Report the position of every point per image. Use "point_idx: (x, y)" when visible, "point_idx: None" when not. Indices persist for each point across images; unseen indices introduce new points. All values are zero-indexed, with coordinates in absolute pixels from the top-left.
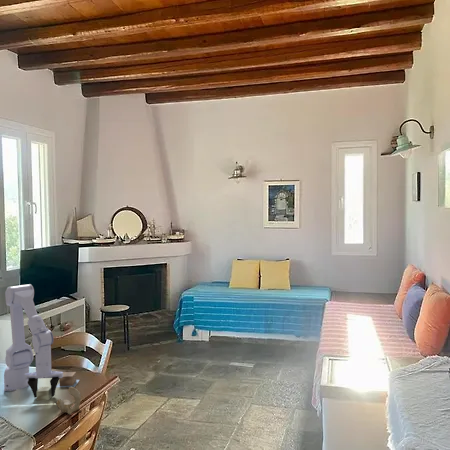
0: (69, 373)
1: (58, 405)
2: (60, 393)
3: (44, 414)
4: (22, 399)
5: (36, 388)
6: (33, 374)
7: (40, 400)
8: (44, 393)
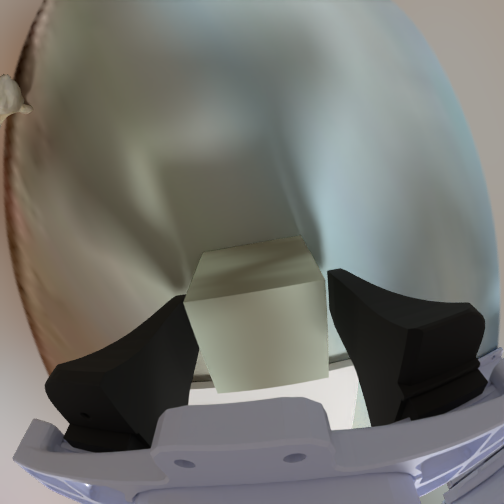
0: None
1: (3, 75)
2: (204, 380)
3: (115, 34)
4: (423, 278)
5: (353, 341)
6: (448, 460)
7: (271, 245)
8: (229, 280)
